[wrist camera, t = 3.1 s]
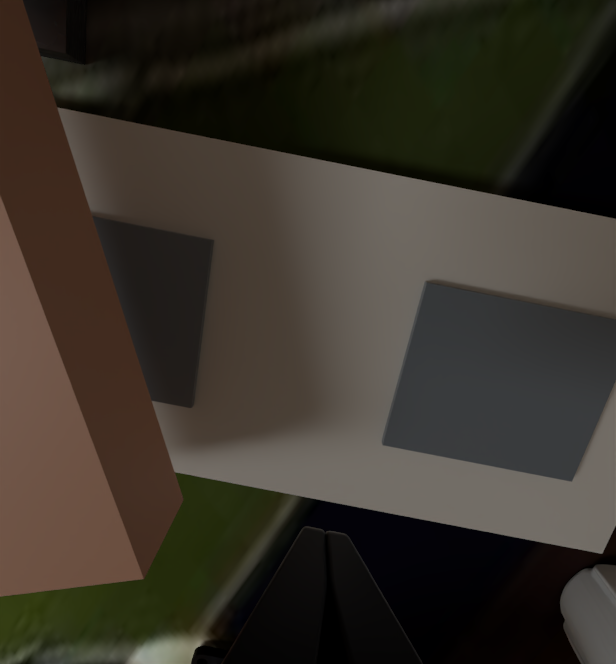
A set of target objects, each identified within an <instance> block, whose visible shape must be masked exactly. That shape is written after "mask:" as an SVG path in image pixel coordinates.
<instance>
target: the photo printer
mask: <svg viewBox="0 0 616 664" xmlns="http://www.w3.org/2000/svg"><path fill="white" fill-rule="evenodd" d="M560 608H561V612H562V615H563V617H564V619H565V621H564V624H563V628H564V631H565V633H566V635H567V637H568V640H569V642H570V644H571V646H572V648H573V650H574V651H575V653H576V655H577V657H578V659H579V661H580V662H581V664H616V565H606V564H597V565H595V566H594V567H593V568H592V569H591V568H585V569H583V570H581V571H580V572H578V573H577V574H576V575H575V576H574V577H572V578H571V579H570V580H569V582H568V583H567V584H566V586H565V588H564V590H563V592H562V595H561V598H560Z"/></svg>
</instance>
